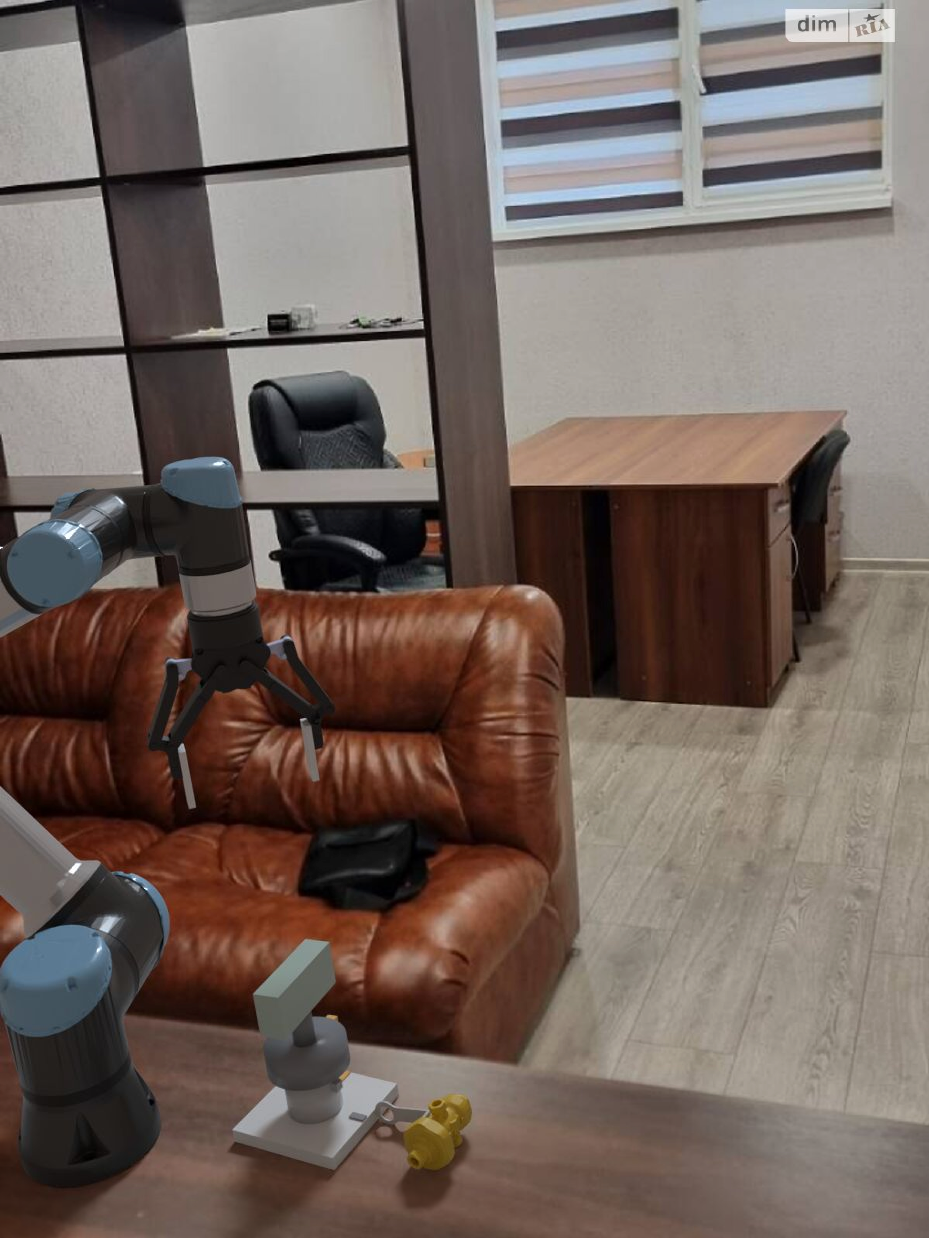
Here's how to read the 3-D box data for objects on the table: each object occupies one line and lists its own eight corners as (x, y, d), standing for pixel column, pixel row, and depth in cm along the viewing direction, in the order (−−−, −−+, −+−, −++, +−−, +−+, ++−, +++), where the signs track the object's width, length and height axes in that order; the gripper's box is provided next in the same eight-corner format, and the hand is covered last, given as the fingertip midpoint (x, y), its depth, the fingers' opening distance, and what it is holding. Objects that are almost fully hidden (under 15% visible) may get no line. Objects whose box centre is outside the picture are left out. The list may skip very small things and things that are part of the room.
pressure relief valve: (489, 1126, 144) (442, 1188, 135) (397, 1116, 150) (347, 1175, 142) (476, 1080, 142) (427, 1140, 134) (383, 1073, 149) (332, 1130, 141)
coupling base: (234, 1141, 147) (224, 1089, 145) (303, 1071, 157) (294, 1022, 155) (334, 1170, 140) (325, 1116, 138) (398, 1094, 151) (391, 1044, 149)
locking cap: (320, 1102, 140) (303, 1001, 137) (246, 1089, 144) (228, 990, 140) (371, 1037, 150) (356, 942, 147) (300, 1026, 154) (284, 933, 150)
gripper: (330, 576, 150) (356, 754, 156) (99, 618, 144) (136, 802, 150) (344, 592, 143) (371, 777, 149) (102, 637, 137) (140, 828, 143)
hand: (253, 790), depth 149 cm, fingers open, 13 cm apart
